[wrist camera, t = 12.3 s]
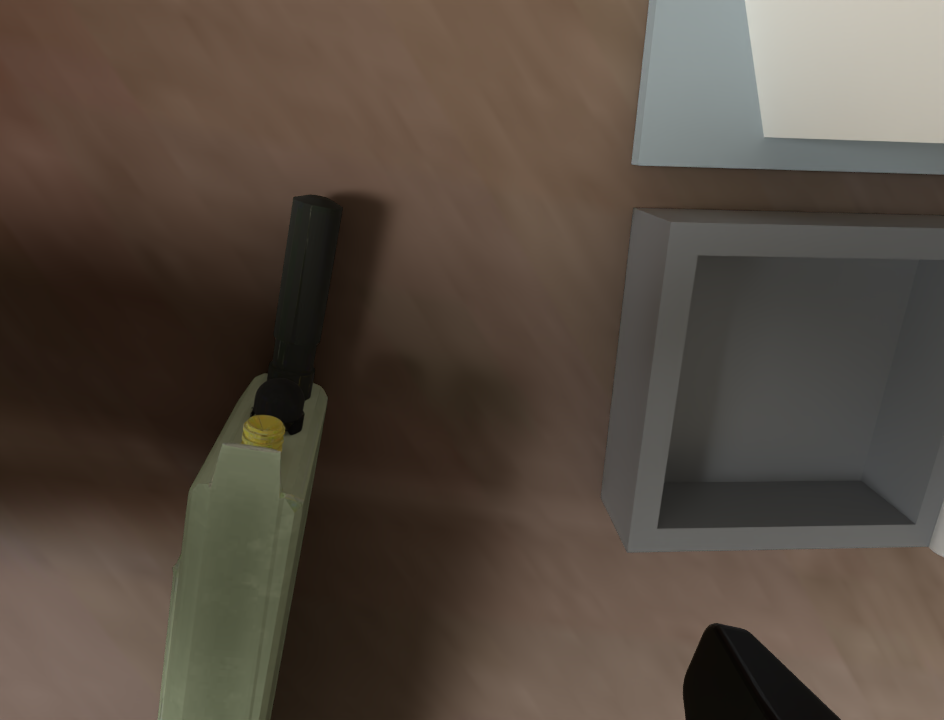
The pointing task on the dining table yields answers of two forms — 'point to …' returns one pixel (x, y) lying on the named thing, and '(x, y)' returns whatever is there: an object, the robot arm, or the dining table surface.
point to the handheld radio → (253, 506)
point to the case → (779, 382)
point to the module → (849, 68)
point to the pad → (733, 103)
